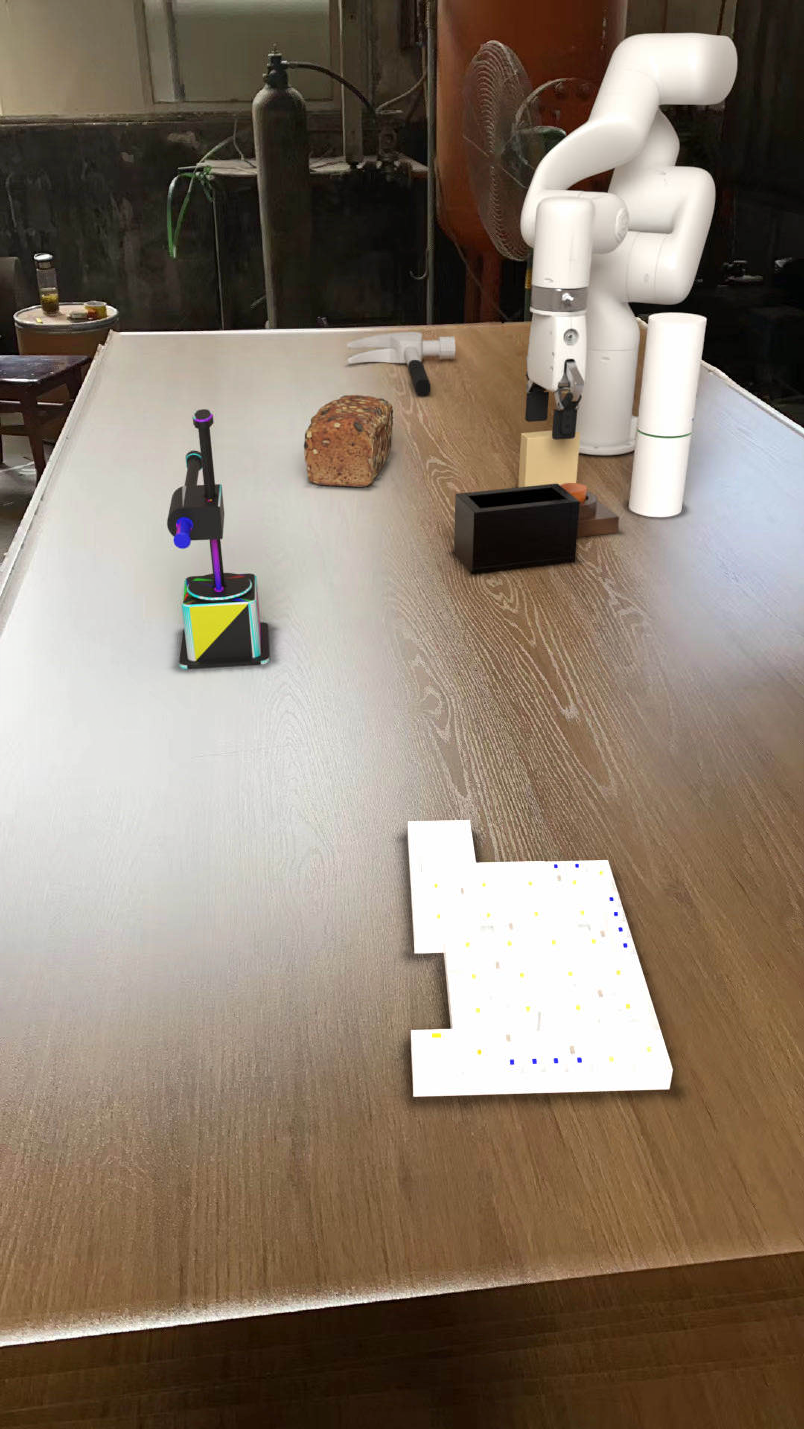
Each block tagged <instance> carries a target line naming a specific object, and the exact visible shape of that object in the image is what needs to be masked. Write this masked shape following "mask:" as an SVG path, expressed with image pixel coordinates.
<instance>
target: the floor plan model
mask: <svg viewBox="0 0 804 1429" xmlns="http://www.w3.org/2000/svg"><path fill="white" fill-rule="evenodd" d="M472 832H473V831H472V826H471V820H470V819H454V820H415V821H413V820H411V821H409V820H408V821H407V849H408V866H409V881H410V884H409V885H410V900H411V915H412V932H413V933H412V934H413V949H414V950H413V952H414V954H440V953H441V954H443V959H444V960H443V961H444V969H445V971H444V972H445V979H446V980H445V981H446V990H447V1002H448V1012H449V1013H448V1015H449V1022H450V1024H449V1025H450V1028H442V1029H441V1028H439V1029H438V1028H437V1029H411V1030H410V1051H411V1052H410V1054H411V1055H410V1056H411V1074H412V1094H413V1098H415V1097H444V1096H445V1097H446V1096H482V1095H484V1096H485V1095H486V1096H487V1095H515V1094H516V1095H518V1094H519V1095H520V1094H547V1093H548V1094H550V1093H551V1094H554V1093H583V1092H584V1093H585V1092H619V1091H621V1092H622V1091H623V1092H624V1091H652V1090H655V1091H656V1090H670V1088H671V1082H672V1077H673V1071H674V1068H673V1066H672V1062H671V1059H670V1056H669V1053H668V1049H667V1046H666V1043H665V1040H664V1037H663V1034H662V1030H661V1027H660V1023H659V1020H658V1017H657V1014H656V1012H655V1008H654V1004H653V1001H652V998H651V995H650V991H649V988H648V985H647V982H646V978H645V975H644V973H643V972H644V971H643V969H642V966H641V965H642V964H641V963H640V959H639V955H638V953H637V949H636V946H635V944H634V940H633V937H632V933H631V930H630V927H629V924H628V920H627V917H626V913H625V910H624V908H623V905H622V901H621V898H620V894H619V892H618V888H617V885H616V882H615V878H614V875H613V871H612V868H611V864H610V863H609V860H608V859H604V860H602V859H601V860H600V859H599V860H560V861H545V860H543V861H542V860H537V861H535V860H533V861H531V860H529V861H497V862H496V861H493V862H492V861H491V862H490V861H488V862H477V860H476V854H475V847H474V840H473V834H472Z"/></svg>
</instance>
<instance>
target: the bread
mask: <svg viewBox="0 0 804 1429" xmlns="http://www.w3.org/2000/svg"><path fill="white" fill-rule="evenodd" d="M393 415H394V409H393V404H392V403H391V402H390V401H388V400H385V399H384V398H382V397H376V396H372V395H362V394H361V395H360V394H354V395H353V394H350V395H347V394H345V395H342V396H341V397H339V398H338V399H333V400H332V401H329V402H327V403H326V404H325V405H323V406H321V407H320V408H319V409H318V411H317V412H316V414H314V415H313V416H312V417H311V418H310V424H309V425H308V428H307V429H306V430H305V433H304V443H303V448H304V451H303V455H304V457H303V458H304V463H305V464H306V472H307V477H308V478H307V479H308V481H309V482H310V483H314V484H317V485H320V486H341V487H353V488H354V487H355V488H364V487H367V486H369V485H372V484H373V482H374V479H375V478H376V477H377V476H378V474H379V473H380V471H381V470H382V468H383V467H384V465H385V463H386V461H387V459H388V456H389V454H390V451H391V448H392V440H393V426H394V416H393Z"/></svg>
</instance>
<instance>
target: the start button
mask: <svg viewBox="0 0 804 1429" xmlns="http://www.w3.org/2000/svg"><path fill="white" fill-rule="evenodd" d="M560 486H561V487H563V488H564V489H565V490H566V491H568V492H569V493H570V494H571V495H573V496H574V497H575V498H576V499H578V500H579V501H580V502H584V501H586V493H587V492H588V487H587V486H586V485H585V484H581V483H578V482H576V483H565V484H562V485H560Z"/></svg>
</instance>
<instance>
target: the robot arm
mask: <svg viewBox="0 0 804 1429" xmlns="http://www.w3.org/2000/svg"><path fill="white" fill-rule="evenodd" d="M737 72H738V53H737V48H736V46H735V44H734V41H733V40H732V39H731V38H730V37H729V36H727V35H716V34H708V33H701V32H675V33H674V32H672V33H671V32H665V33H658V32H657V33H641V34H640V33H639V34H634V35H631V36H629V37H627V38H625V39H623V40H622V41H621V42H620V43H619V44H618V45H617V47H616V48H615V50H613V53H612V55H611V57H610V61H609V62H608V66H607V68H606V71H605V74H604V77H603V79H602V81H601V84H600V87H599V90H598V93H597V96H596V98H595V101H594V103H593V106H592V109H591V112H590V115H589V117H588V120H587V121H586V122H585V123H583V124H582V125H580V126H579V127H578V128H576V129H575V130H573V131H572V132H570V133H569V134H568V135H567V136H566V137H564V138H563V139H562V140H561V141H559V142H558V143H557V144H556V145H555V146H553V148H551V150H549V151H548V153H546V154H545V156H544V157H543V158H542V160H541V161H540V162H539V164H538V165H537V167H536V169H535V172H534V174H533V176H532V179H531V182H530V184H529V186H528V190H527V193H526V195H525V198H524V201H523V205H522V209H521V214H520V220H519V221H520V224H519V225H520V226H519V227H520V233H521V236H522V239H523V241H524V242H525V244H526V245H527V246H528V247H530V248H531V249H533V251H532V252H533V254H532V268H531V286H530V301H529V302H530V303H529V312H530V313H532V317H531V322H530V330H529V339H528V348H527V355H526V357H525V363H526V374H525V376H526V379H527V383H526V386H525V390H526V398H525V399H526V401H525V415H524V420H525V421H526V422H528V423H532V422H546V421H547V420H548V416H549V415H548V413H549V402H550V398H549V397H550V393H553V395H554V400H555V404H556V408H554V409H553V418H552V430H551V431H552V438H553V439H555V440H559V439H572V438H574V437H575V432H576V431H577V432H579V433H580V443H579V454H583V455H588V456H589V455H590V456H618V455H624V454H629V453H631V452H633V451H635V442H636V432H637V423H638V416H636V415H634V414H633V407H634V397H635V388H636V378H637V368H638V361H639V360H638V357H639V350H640V349H639V348H640V341H641V332H640V326H639V323H638V319H637V317H636V316H635V313H634V312H633V310H632V309H631V306H630V305H629V303H643V304H654V305H677V304H680V303H682V302H683V301H685V299H686V298H687V297H688V295H689V294H690V292H691V289H692V287H693V285H694V281H695V280H696V279H695V278H696V275H697V272H698V270H699V269H698V268H699V265H700V261H701V258H702V255H703V251H704V248H705V244H706V241H707V237H708V234H709V231H710V227H711V223H712V219H713V215H714V210H715V204H716V185H715V181H714V179H713V177H712V175H711V173H710V172H708V171H707V170H705V169H703V168H701V167H695V166H680V165H679V166H678V165H676V163H677V159H678V156H679V152H680V139H679V137H678V135H677V132H676V130H675V128H674V126H673V125H672V123H671V121H670V120H669V119H668V117H667V116H666V115H665V114H664V113H663V112H662V111H661V108H660V106H661V105H690V106H691V105H695V106H696V105H697V106H698V105H700V106H710V105H718V104H720V103H721V102H723V101H724V100H725V99H726V98H727V96H729V94H730V92H731V90H732V88H733V85H734V83H735V80H736V78H737ZM610 170H613V173H612V176H611V180H610V183H609V186H608V190H607V192H605V191H584V190H568V189H569V188H571V187H572V186H573V185H575V184H577V183H578V182H581V181H582V180H585V179H587V178H590V177H592V176H595V175H598V174H601V173H604V172H607V171H610ZM564 394H565V396H564V397H563V395H564Z"/></svg>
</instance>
